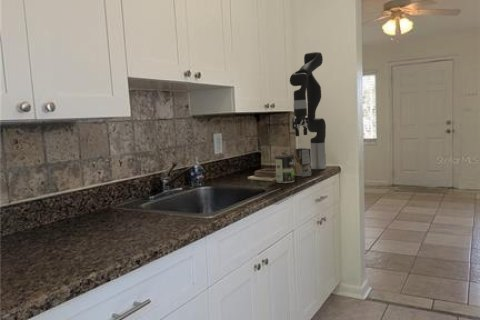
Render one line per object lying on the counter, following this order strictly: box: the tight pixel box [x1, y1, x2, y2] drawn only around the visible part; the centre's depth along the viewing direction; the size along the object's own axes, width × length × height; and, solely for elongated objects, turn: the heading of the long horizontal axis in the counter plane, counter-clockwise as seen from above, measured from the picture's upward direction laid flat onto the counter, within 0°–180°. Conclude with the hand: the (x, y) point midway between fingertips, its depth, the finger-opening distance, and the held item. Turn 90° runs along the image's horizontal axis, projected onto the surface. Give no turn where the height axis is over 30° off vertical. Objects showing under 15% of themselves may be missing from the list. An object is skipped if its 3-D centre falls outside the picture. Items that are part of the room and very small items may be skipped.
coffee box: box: [293, 147, 312, 178], centre depth 229 cm, size 9×6×16 cm
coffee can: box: [274, 154, 296, 184], centre depth 211 cm, size 10×10×14 cm
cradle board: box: [247, 168, 276, 182], centre depth 228 cm, size 20×18×4 cm
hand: (301, 135), depth 227 cm, fingers open, 8 cm apart
